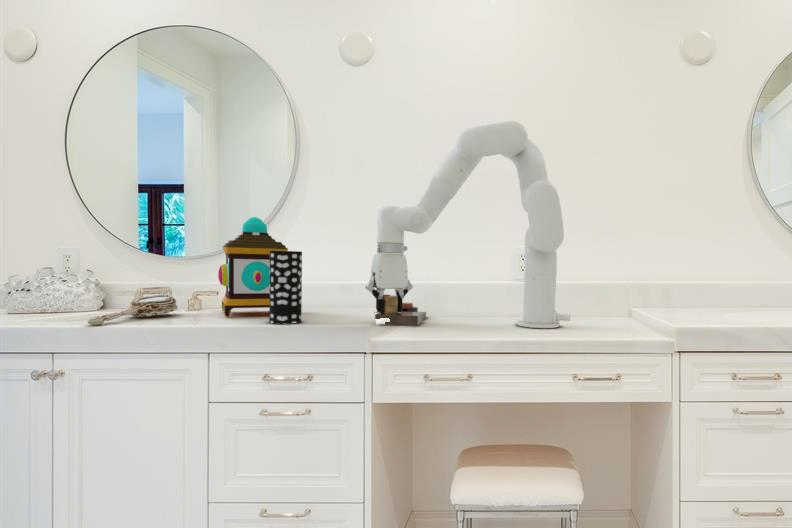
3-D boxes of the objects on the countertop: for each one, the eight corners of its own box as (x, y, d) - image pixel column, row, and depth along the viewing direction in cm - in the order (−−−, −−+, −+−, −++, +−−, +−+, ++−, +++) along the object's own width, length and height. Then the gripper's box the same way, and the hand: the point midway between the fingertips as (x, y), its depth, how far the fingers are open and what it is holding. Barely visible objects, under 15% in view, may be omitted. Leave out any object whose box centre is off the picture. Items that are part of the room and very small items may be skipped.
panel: (422, 322, 165) (422, 311, 165) (417, 326, 155) (417, 315, 155) (377, 320, 165) (377, 310, 165) (369, 324, 155) (369, 313, 155)
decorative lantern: (219, 318, 157) (219, 213, 155) (216, 311, 174) (216, 216, 172) (294, 316, 167) (294, 217, 165) (284, 309, 184) (284, 220, 182)
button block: (426, 317, 178) (426, 306, 178) (422, 320, 169) (422, 309, 169) (392, 316, 178) (392, 305, 177) (386, 319, 169) (386, 308, 168)
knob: (392, 311, 163) (393, 293, 163) (400, 313, 160) (401, 295, 159) (377, 312, 160) (378, 294, 160) (385, 314, 157) (386, 295, 156)
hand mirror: (65, 315, 135) (150, 294, 165) (72, 337, 136) (155, 313, 166) (105, 307, 134) (183, 288, 164) (112, 330, 135) (188, 307, 165)
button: (413, 308, 175) (413, 302, 175) (411, 309, 171) (411, 303, 171) (402, 307, 175) (402, 302, 175) (400, 308, 171) (400, 303, 171)
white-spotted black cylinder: (290, 319, 160) (290, 251, 159) (307, 322, 155) (308, 251, 154) (263, 322, 153) (263, 250, 152) (280, 325, 149) (280, 251, 147)
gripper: (409, 250, 167) (408, 309, 168) (357, 248, 156) (356, 312, 157) (422, 250, 161) (421, 312, 163) (368, 248, 150) (367, 315, 152)
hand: (389, 311), depth 160 cm, fingers closed on knob, 4 cm apart
